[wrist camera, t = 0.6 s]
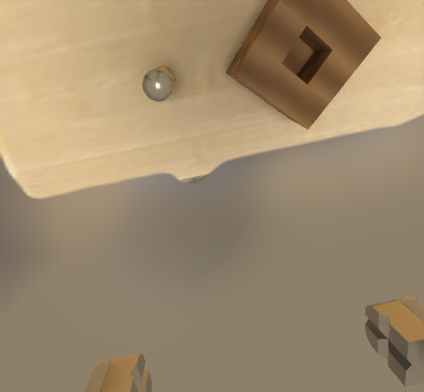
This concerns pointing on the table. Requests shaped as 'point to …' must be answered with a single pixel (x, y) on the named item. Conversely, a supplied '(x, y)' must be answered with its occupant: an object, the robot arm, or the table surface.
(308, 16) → the bore block
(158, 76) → the pin
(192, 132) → the table surface
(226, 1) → the table surface
